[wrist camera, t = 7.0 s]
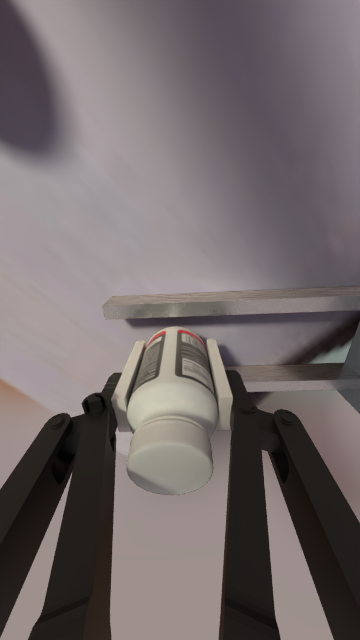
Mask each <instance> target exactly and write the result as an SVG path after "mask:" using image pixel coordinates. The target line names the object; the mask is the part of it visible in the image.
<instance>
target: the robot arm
mask: <svg viewBox="0 0 360 640" xmlns="http://www.w3.org/2000/svg"><path fill="white" fill-rule="evenodd" d="M145 350H146V346H145V341H136V343H135V345H134V347H133V350H132V352H131V354H130V357H129V359H128V361H127V363H126V366H125V368H124V370H123V373H113V374H112V375H111V376H110V377H109V379H108V381H107V383H106V385H105V387H104V389H103V390H102V392H101V393H94V394H91V395H89V396H88V397H86V398H85V399H84V400H83V402H82V406H83V409H84V412H85V414H82V415H79V416H75V417H72V418H71V417H70V415H69V414H67V413H61V414H57V415H55V416H53V417H52V418H51V419H49V420H48V421H47V422H46V424H45V425H44V427H43V428H42V429H41V431H40V432H39V434H38V435H37V437H36V438H35V440H34V441H33V443H32V444H31V446H30V447H29V449H28V450H27V451H26V453H25V454H24V456H23V457H22V459H21V460H20V462H19V463H18V465H17V466H16V468H15V469H14V470H13V472H12V473H11V475H10V476H9V478H8V479H7V481H6V482H5V484H4V485H3V487H2V488H1V489H0V637H1V635H2V632H3V630H4V628H5V625H6V623H7V621H8V618H9V616H10V614H11V611H12V609H13V607H14V605H15V602H16V600H17V598H18V595H19V593H20V591H21V588H22V586H23V584H24V582H25V579H26V577H27V575H28V572H29V570H30V567H31V565H32V563H33V561H34V558H35V556H36V554H37V552H38V549H39V547H40V545H41V542H42V540H43V538H44V535H45V533H46V531H47V529H48V526H49V524H50V521H51V519H52V517H53V515H54V512H55V510H56V508H57V506H58V503H59V501H60V499H61V496H62V494H63V492H64V489H65V487H66V485H67V482H68V480H69V478H70V475H71V473H72V478H71V482H70V487H69V491H68V496H67V501H66V505H65V509H64V514H63V519H62V523H61V528H60V533H59V538H58V542H57V547H56V551H55V556H54V561H53V565H52V570H51V575H50V579H49V583H48V588H47V593H46V597H45V602H44V606H43V610H42V613H41V615H40V617H39V619H38V620H37V622H36V623H35V625H34V626H33V629H32V631H31V633H30V636H29V639H28V640H111V628H110V592H111V566H112V565H111V564H112V539H113V538H112V537H113V512H114V485H115V459H116V434H115V432H116V429H117V426H118V430H119V432H131V430H130V427H129V425H128V421H127V409H128V404H129V400H130V397H131V394H132V391H133V388H134V385H135V382H136V379H137V376H138V372H139V369H140V366H141V362H142V359H143V356H144V352H145ZM206 353H207V358H208V363H209V368H210V373H211V377H212V382H213V388H214V393H215V397H216V401H217V406H218V422H217V430H218V431H219V430H230V426H231V430H232V435H231V449H230V466H229V483H228V498H227V515H226V532H225V549H224V565H223V581H222V582H223V583H222V598H221V615H220V628H219V640H280V634H279V630H278V626H277V622H276V618H275V610H274V600H273V587H272V575H271V563H270V550H269V537H268V525H267V514H266V513H267V512H266V500H265V488H264V476H263V463H262V450H265V451H268V454H269V456H270V459H271V462H272V465H273V468H274V470H275V473H276V476H277V479H278V482H279V485H280V487H281V490H282V493H283V496H284V499H285V502H286V504H287V507H288V510H289V513H290V516H291V519H292V521H293V524H294V527H295V530H296V533H297V536H298V538H299V542H300V544H301V547H302V550H303V553H304V556H305V559H306V561H307V564H308V567H309V570H310V573H311V576H312V578H313V581H314V584H315V587H316V590H317V593H318V596H319V598H320V601H321V604H322V607H323V610H324V613H325V616H326V618H327V621H328V624H329V627H330V629H331V633H332V635H333V638H334V640H360V523H359V521H358V519H357V518H356V516H355V514H354V512H353V511H352V509H351V507H350V506H349V504H348V502H347V500H346V499H345V497H344V495H343V494H342V492H341V490H340V488H339V487H338V485H337V483H336V482H335V480H334V478H333V477H332V475H331V473H330V471H329V469H328V468H327V466H326V464H325V463H324V461H323V459H322V458H321V456H320V454H319V452H318V451H317V449H316V447H315V445H314V444H313V442H312V440H311V438H310V437H309V435H308V433H307V432H306V430H305V428H304V426H303V425H302V423H301V421H300V420H299V419H298V417H297V416H296V415H295V414H293V413H292V412H290V411H287V410H283V409H280V410H277V411H275V413H274V414H271V413H268V412H264V411H261V410H259V409H257V407H256V406H255V405H254V404H253V403H252V402H251V400H250V398H249V395H248V393H247V390H246V388H245V385H244V383H243V381H242V378H241V375H240V374H239V373H238V372H237V371H236V370H224V366H223V363H222V360H221V356H220V353H219V350H218V346H217V343H216V340H215V339H207V342H206ZM261 449H262V450H261ZM72 471H73V472H72Z"/></svg>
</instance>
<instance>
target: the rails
mask: <svg viewBox="0 0 360 640" xmlns="http://www.w3.org/2000/svg"><path fill="white" fill-rule="evenodd" d="M102 307H103V312H104V316H105V320H106V319H133V318H161V317H188V316H215V315H242V314H269V313H296V312H323V311H350V310H360V286H353V287H329V288H305V289H280V290H256V291H231V292H207V293H182V294H158V295H133V296H112V297H111V298H110V299H109V300H108V301H107V302H106V303H105V304H104V305H102ZM224 370H236V371H237V372H238V373H239V374H240V375H241V378H242V381H243V383H244V385H245V388H246V390H247V392H265V391H307V390H349V389H360V375H359V374H358V373H357V372H355V371H354V370H353V369H352V368H350V367H349V366H348V365H347V364H345V363H324V364H323V363H322V364H287V365H251V366H224Z"/></svg>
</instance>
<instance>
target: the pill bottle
mask: <svg viewBox="0 0 360 640" xmlns="http://www.w3.org/2000/svg"><path fill="white" fill-rule="evenodd" d="M127 421H128V425H129V427H130V430H131V431H132V433H133V434H134V435H133V437H132V439H131V443H130V451H129V455H128V460H127V472H128V475H129V477H130V479H131V480H132V481H133V482H134V483H135V484H136V485H137V486H139V487H141V488H143V489H144V490H146V491H149V492H152V493H157V494H164V495H180V494H185V493H189V492H192V491H195V490H197V489H199V488H201V487H202V486H204V485H205V484H206V483H207V482H208V481H209V480H210V478H211V476H212V473H213V459H212V451H211V444H210V439H209V438H210V436H211V435H212V434H213V432H214V430H215V428H216V426H217V422H218V406H217V401H216V397H215V393H214V388H213V382H212V377H211V373H210V368H209V363H208V358H207V353H206V348H205V345H204V343H203V341H202V339H201V338H200V337H199V336H198V335H197V334H196V333H195V332H193V331H192V330H189V329H187V328H183V327H176V326H175V327H168V328H165V329H162V330H160V331H158V332H157V333H155V334H154V335H153V336H152V337H151V339H150V340H149V342H148V344H147V347H146V350H145V352H144V356H143V359H142V362H141V366H140V369H139V372H138V376H137V379H136V382H135V385H134V388H133V391H132V394H131V397H130V400H129V404H128V409H127Z"/></svg>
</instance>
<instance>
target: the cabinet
mask: <svg viewBox="0 0 360 640" xmlns="http://www.w3.org/2000/svg"><path fill="white" fill-rule="evenodd" d="M345 364H347V365H348V366H349V367H350V368H352V369H353V370H354V371H355V372H357V373H358V374H359V375H360V322H359V325H358V327H357V330H356V333H355V336H354V338H353V341H352V344H351V347H350V349H349V352H348V355H347V358H346V360H345ZM337 391H338V392H339V393H340V394H341V395H342V396H343V397H344V398H345V399H346V400H347V401H348V402H349V403H350V404H351V405H352V406H353V407H354V408H355V409H356V410H357V411H358V412H359V413H360V389H349V390H337Z"/></svg>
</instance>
